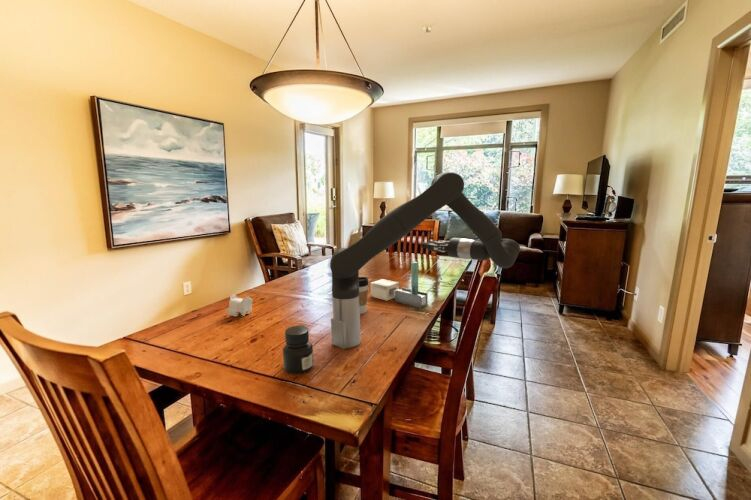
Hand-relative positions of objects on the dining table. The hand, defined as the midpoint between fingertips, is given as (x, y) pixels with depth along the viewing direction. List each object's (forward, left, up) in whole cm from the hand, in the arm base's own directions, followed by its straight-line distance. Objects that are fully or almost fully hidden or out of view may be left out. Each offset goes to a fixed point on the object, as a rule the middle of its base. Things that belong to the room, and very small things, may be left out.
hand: (425, 244), depth 139 cm
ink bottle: (-61, +4, -30) cm, 68 cm away
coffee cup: (-16, +23, -30) cm, 41 cm away
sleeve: (+7, +12, -30) cm, 33 cm away
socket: (+7, +28, -30) cm, 42 cm away
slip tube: (+7, +13, -29) cm, 33 cm away
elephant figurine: (-52, +60, -30) cm, 85 cm away
